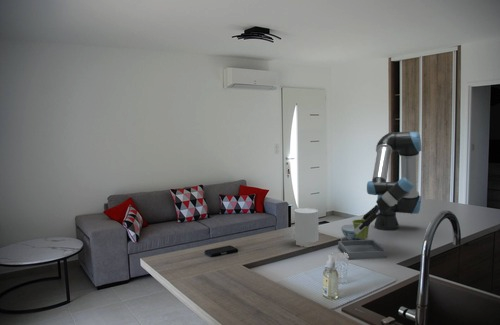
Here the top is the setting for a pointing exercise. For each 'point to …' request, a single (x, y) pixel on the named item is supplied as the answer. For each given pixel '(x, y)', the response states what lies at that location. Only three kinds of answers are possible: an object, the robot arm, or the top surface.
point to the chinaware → (349, 232)
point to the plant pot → (364, 232)
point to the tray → (362, 249)
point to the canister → (306, 225)
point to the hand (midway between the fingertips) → (355, 230)
